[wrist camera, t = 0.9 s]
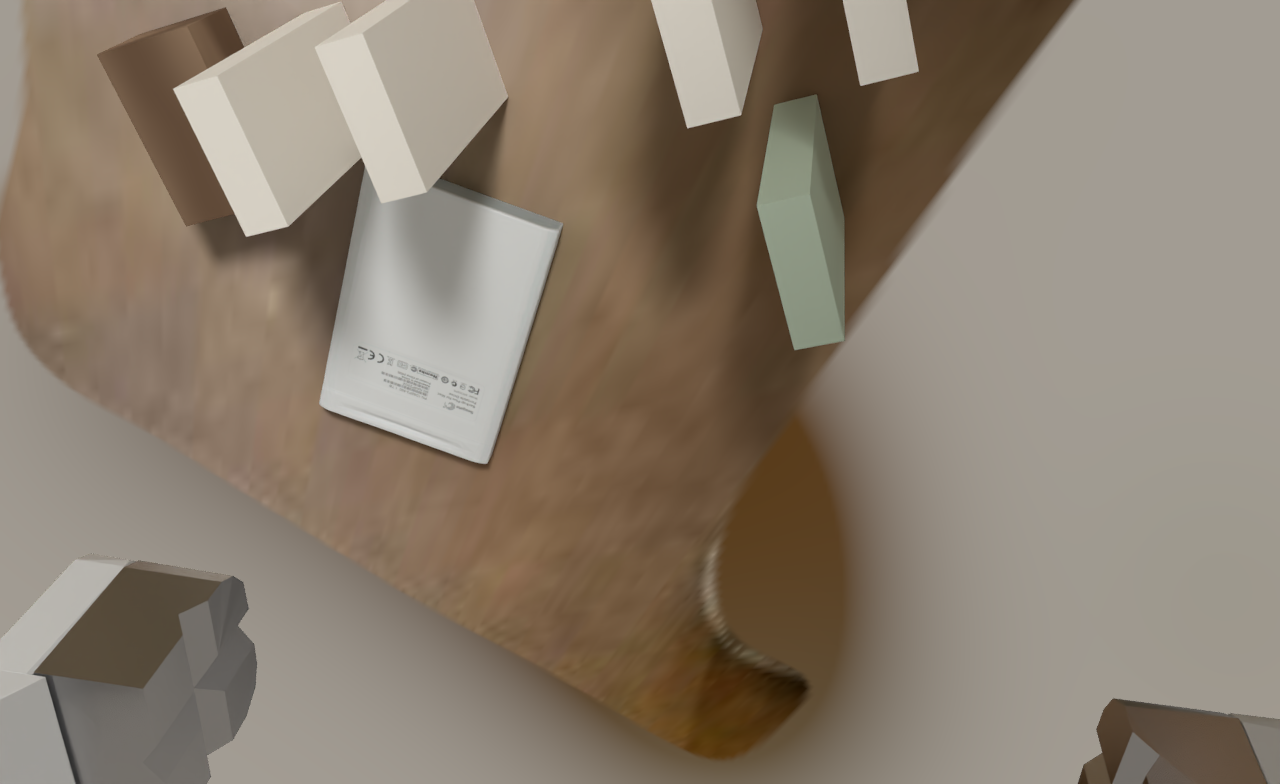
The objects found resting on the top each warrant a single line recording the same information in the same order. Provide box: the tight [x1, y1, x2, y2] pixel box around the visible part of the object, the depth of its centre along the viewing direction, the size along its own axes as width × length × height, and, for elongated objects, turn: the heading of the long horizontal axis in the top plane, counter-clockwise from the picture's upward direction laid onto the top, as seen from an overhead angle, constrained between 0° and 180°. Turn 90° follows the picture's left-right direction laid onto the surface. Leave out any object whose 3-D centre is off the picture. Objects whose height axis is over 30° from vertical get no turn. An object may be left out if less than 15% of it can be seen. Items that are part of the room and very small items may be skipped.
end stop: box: [97, 8, 244, 226], centre depth 44 cm, size 4×7×3 cm, turn 17°
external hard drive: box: [319, 167, 563, 464], centre depth 49 cm, size 2×8×12 cm
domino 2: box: [315, 0, 508, 204], centre depth 38 cm, size 2×5×10 cm, turn 17°
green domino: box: [757, 94, 845, 350], centre depth 39 cm, size 2×5×10 cm, turn 17°
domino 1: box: [173, 1, 361, 237], centre depth 40 cm, size 2×5×10 cm, turn 17°
